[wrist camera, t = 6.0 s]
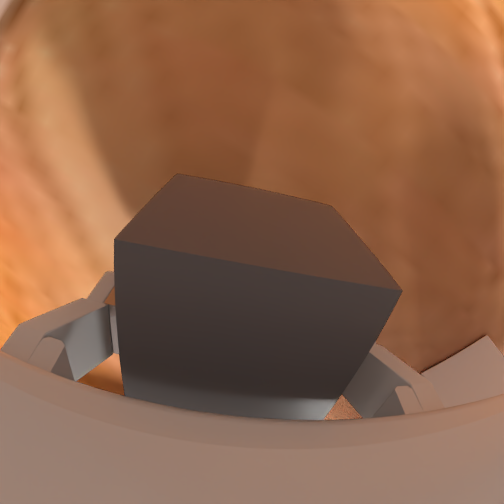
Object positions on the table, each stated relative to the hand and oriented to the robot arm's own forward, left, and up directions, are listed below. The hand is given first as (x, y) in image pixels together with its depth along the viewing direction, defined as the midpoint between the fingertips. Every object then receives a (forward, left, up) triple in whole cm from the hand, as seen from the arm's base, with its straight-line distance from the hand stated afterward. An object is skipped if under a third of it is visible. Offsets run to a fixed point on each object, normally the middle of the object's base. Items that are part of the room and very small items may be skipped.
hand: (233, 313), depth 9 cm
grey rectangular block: (0, 0, -2) cm, 2 cm away
